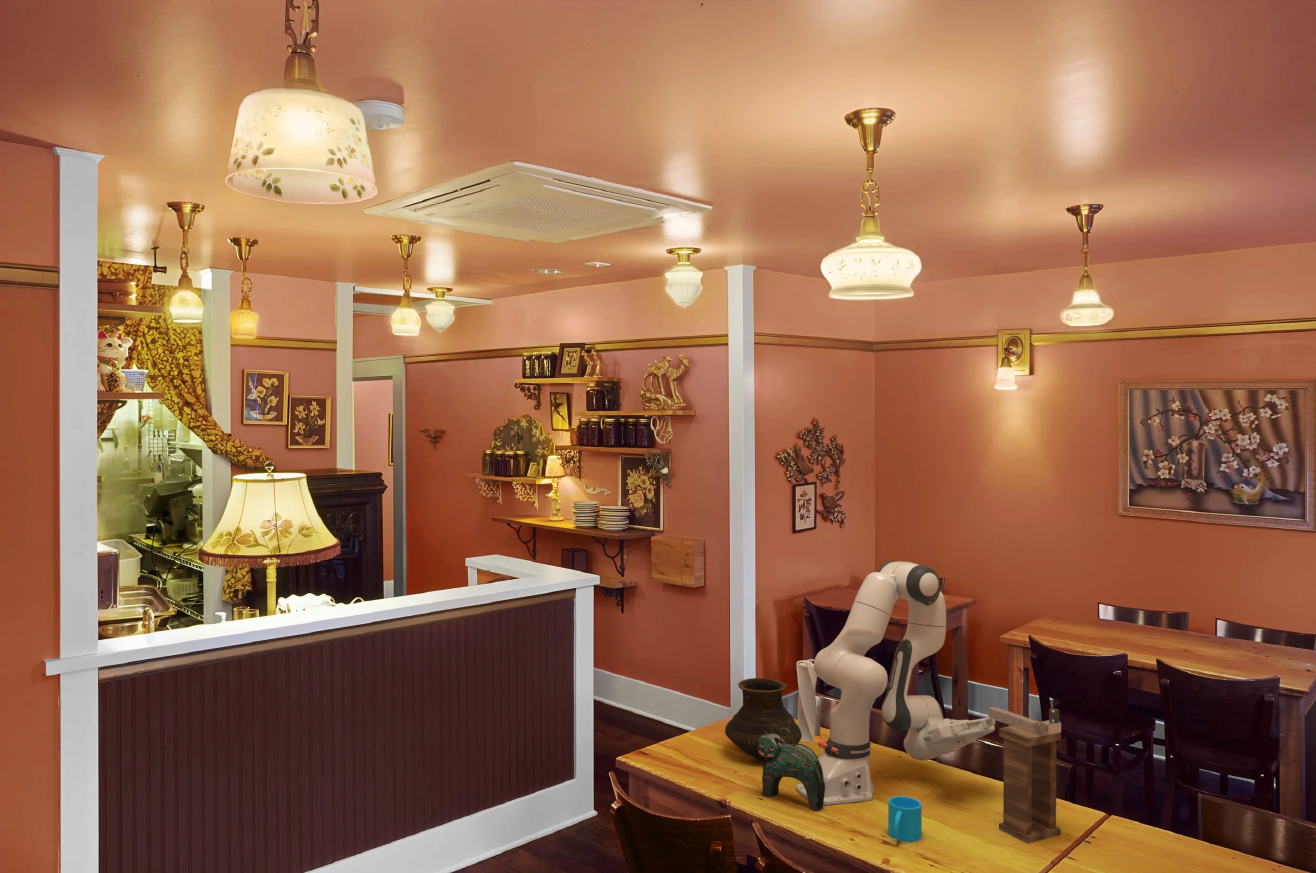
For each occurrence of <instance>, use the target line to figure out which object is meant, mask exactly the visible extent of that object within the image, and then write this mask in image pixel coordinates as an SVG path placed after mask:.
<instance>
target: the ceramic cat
mask: <svg viewBox="0 0 1316 873" xmlns="http://www.w3.org/2000/svg"><path fill="white" fill-rule="evenodd" d="M782 729H786V730H787V731H788V732H789V733H790V734H791V732H790V731H789V730H788V729H787V728H785V727H783V728H781V729H780V733H781V730H782ZM757 749H758V753H759V754H760V755H761V756H762V757H764V758H765V759H764V761H763V765H762V778H761V781H762V783H761V784H762V796H765V797H766V798H767V797H768V798H774V797H776V796H778V795H779V793H780V792H779V791H780V789H779V786H780V783H781V780H782V779H783V778H792V779H795V780H797V781H798V782H800V783H802V784H803V785H804V787H805V790H806V793H807V797H808V798H807V801H808V802H807V803H808V809H809V810H811V811H815V812H819V811H821V810H822V809H824V804H823V802H824V793H825V782H824V777H823V771H822V767H821V764H820V762H819V760H818V756H817V753H816V752H815V751H814V750H813V748H811V747H810V746H807V745H806V744H802V743H798V744H786V743H785V742H784V741H783V739H782V738H781V734H780V736H779V735H777V734H774V733H772V734H767V733H766V732H765V731H763V732H762V735H761V737H760V738H759V740H758V742H757Z"/></svg>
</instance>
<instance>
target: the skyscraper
mask: <svg viewBox="0 0 1316 873" xmlns="http://www.w3.org/2000/svg"><path fill="white" fill-rule="evenodd" d="M814 661H815V659H810V658H809V659H807V660H802V659H801V660H798V661H797V662H796V672H797V685H798V698H797V725H798V726H799V728H800V730H801V733H802V737H801V740H803V741H813V742H814V736H815V735H816V736H820V737H821V724H820V723H821V714H820V705H819V703H820V702H819V700H817V698H816V697H817V696H816V686H817V679H818V676H817V674H816V672H815V669H814V663H813V662H814Z"/></svg>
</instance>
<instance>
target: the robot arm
mask: <svg viewBox="0 0 1316 873" xmlns="http://www.w3.org/2000/svg"><path fill="white" fill-rule="evenodd" d="M899 598H900V599H902V600H906V602H907V604H908V608H909V609H908V616H907V617H908V618H907V627H906V631H905V634H904V636H903V638H902V640H901V641H899V643H898V644H897V646H896V649H895V653H894V656H893V660H892V665H891V670H890V671H891V672H890V675H889V677H888V673H887V672H888V671H887V670H886V669H885V667H884V666H882V665H881V664H880V663H879V662H877V661H875V660H873V658H870V657H866V656H865V655H866V653H867V652H868V651H869V650H870V649H871V648H872V647H874V646H875V645H878V644H879V643H881V641H882V640H883V638H884V635H885V633H886V630H887V627H888V624H889V621H890V619H891V617H892V612H893V609H894V606H895V603H896V601H898V599H899ZM946 633H947V606H946V599H945V595H944V594H943V592H942V591H941V581H940V577H939V574H938V573H937V572H936V571H935V570H934V569H933V568H931V567H930V566H927V565H926V564H925V565H924V564H918V563H914V562H911V561H905V560H904V561H899V560H898V561H897V560H888V561H886V562H884V563H882V564H881V565H880V566H879V567H877V569H876V571H875V572H870V573H869V574H867V575H866V577H865V579H863V582H862V583H861V585H860V588H859V589H858V592H857V594H856V595H855V599H854V601H853V604H852V607H851V609H850V612H849V614H848V617H847V620H846V622H845V625H844V627H843V628H842V629H841V631H840V633H839V634H838V635H837V637H836V638H834V640H833V642H831V643H830V644H829V645H827V646H826V647H824V648H823V649H821V650H820V651H819V652H817V654H816V655H815V658H814V660H815V661H813V662H814V663H813V664H814V669H815V672H816V674H817V678H819V679H820V680H822V681H823V682H824V683H826V685H829V686H831V687H835V688H837V689H839V690H840V691H841V694H840V699H839V702H838V703H837V704H836V705H834V706H833V707H832V708H831V709H830V713H829V736H828V739H827V741H824V740H822V739H820V740H819V742H818V743H817V746H818V747H819V748H821V749H824V752H822V753H821V755H819V757H818V756H817V758H818V760H819V762H820V764H821V767H822V771H823V777H824V782H825V793H824V802H823V806H825V805H826V806H829V805H837V804H839V805H840V804H848V803H855V802H858V803H859V802H865V801H873V794H874V793H875V787H874V784H873V779H872V774H871V765H870V755H871V740H870V737H869V736H870V717H871V716H870V715H871V711H872V708H873V705H874V703H875V701H876V699H877V698H879V697H880V696H881V695H882V694H884V692H885V691H886V693H885V696H884V699H883V701H882V704H881V709H880V712H881V717H882V720H883V721H884V724H886V726H887V727H888V728H889V729H890V730H892V731H893V732H901V731H907V730H908V732H907V734H906V735H905V738H904V740H903V748H904V750H905V752H906V753H907V755H909V756H910V757H911V759H914V760H916V761H921V762H922V761H929V760H932V759H935V758H938V757H940V756H941V755H947V754H951V753H953V752H957V751H958V750H960V749H962V748H964V747H965V746H967V745H971V744H973V743H974V744H975V743H976V742H977V740H978V739H981V738H983V737H985V736H986V735H987V736H988V735H989V734H991V733H993V732H994V731H995V730H996V728H995V725H996V720H995V719H992V718H989V717H982V718H978V719H972V720H969V719H951V718H944V717H945V716H944V713H943V709H942V707H941V705H940V703H939V701H937V699H936V698H935V697H933V696H932V695H929V694H927V695H926V694H925V695H918V694H916V695H908V692H909V686H910V685H909V684H910V681H911V675H912V671H913V670H914V669H913V668H914V667H915V666H916V664H918V663H919V662H921V661H922V660H923V659H925V658H926V657H930V656H932V655H933V654H936V653H937V652H938V651H939V650H941V648H942V647H943V646H944V644H945V640H946ZM888 678H889V679H888ZM886 689H887V690H886ZM795 789H796V791H797V792H798V794H800V795H801V796H803V797H805V798H806V799H808V797H807V793H806V790H805V787H804V785H803V784H802V783H801V782H800V783H798V784H796V788H795Z"/></svg>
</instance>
